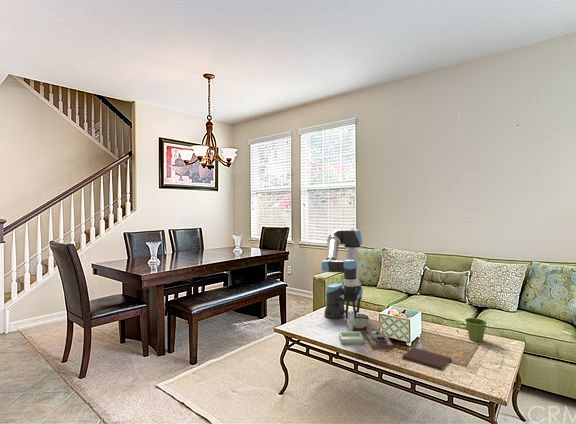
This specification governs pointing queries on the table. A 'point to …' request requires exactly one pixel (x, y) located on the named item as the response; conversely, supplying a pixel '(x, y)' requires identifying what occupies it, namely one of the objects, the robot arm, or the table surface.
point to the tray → (351, 338)
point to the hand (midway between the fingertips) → (350, 323)
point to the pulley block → (378, 340)
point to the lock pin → (350, 320)
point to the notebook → (426, 358)
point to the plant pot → (475, 328)
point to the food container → (360, 323)
